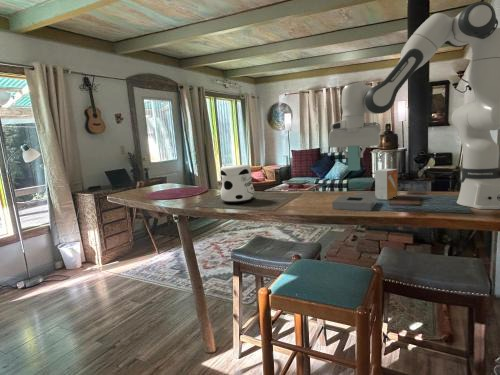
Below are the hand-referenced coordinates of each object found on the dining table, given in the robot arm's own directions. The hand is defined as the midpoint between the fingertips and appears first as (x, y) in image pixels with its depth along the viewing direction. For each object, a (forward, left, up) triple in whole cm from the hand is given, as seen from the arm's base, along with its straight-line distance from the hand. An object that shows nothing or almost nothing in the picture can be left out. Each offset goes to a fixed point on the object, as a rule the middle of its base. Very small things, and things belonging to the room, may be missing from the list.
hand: (353, 157), depth 133 cm
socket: (0, 0, -20) cm, 21 cm away
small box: (-10, -19, -21) cm, 30 cm away
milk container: (+58, +1, -21) cm, 62 cm away
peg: (0, 0, -5) cm, 5 cm away
